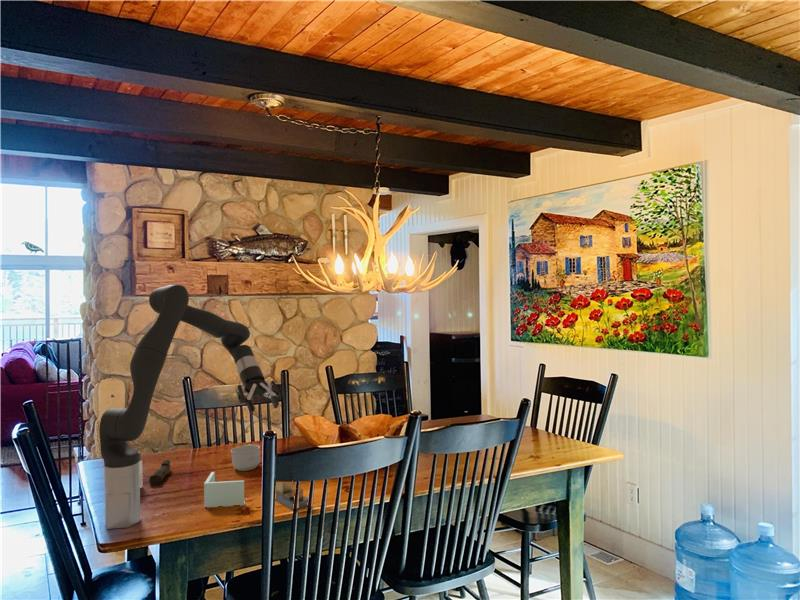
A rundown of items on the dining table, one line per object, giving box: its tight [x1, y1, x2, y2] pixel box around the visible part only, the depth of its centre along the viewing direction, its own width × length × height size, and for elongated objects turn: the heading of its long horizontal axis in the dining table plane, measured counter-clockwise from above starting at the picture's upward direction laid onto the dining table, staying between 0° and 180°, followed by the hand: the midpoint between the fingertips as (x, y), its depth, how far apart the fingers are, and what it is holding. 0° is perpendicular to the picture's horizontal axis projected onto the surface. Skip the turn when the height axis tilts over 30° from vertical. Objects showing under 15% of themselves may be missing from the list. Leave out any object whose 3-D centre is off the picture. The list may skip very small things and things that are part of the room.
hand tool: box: [149, 459, 171, 486], centre depth 211 cm, size 19×4×5 cm, turn 6°
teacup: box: [230, 443, 261, 472], centre depth 221 cm, size 14×11×8 cm
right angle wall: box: [203, 471, 246, 508], centre depth 186 cm, size 12×12×8 cm
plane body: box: [275, 488, 308, 511], centre depth 183 cm, size 14×6×5 cm, turn 39°
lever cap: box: [275, 481, 294, 495], centre depth 186 cm, size 5×4×9 cm
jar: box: [137, 450, 143, 489], centre depth 199 cm, size 9×8×12 cm
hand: (265, 409), depth 196 cm, fingers open, 8 cm apart
